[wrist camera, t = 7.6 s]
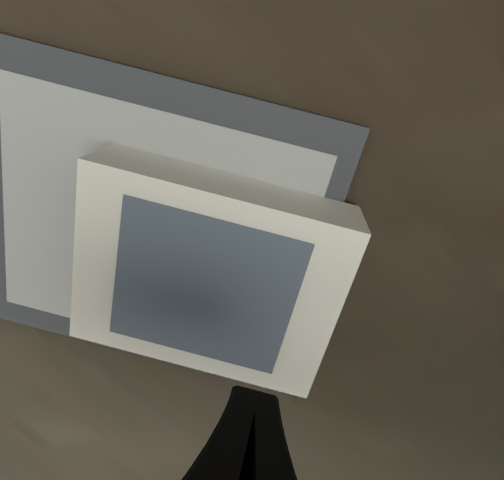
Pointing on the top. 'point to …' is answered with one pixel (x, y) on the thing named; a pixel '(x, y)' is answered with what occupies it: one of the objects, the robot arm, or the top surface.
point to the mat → (137, 136)
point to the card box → (209, 267)
